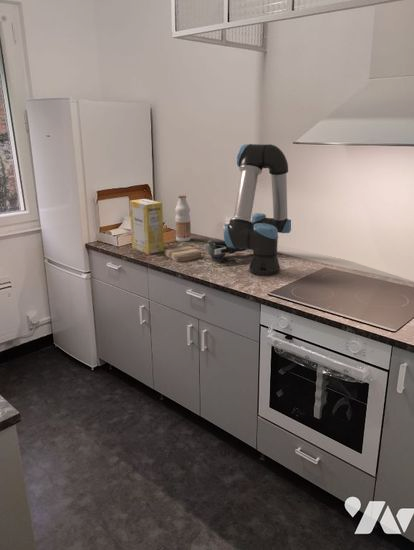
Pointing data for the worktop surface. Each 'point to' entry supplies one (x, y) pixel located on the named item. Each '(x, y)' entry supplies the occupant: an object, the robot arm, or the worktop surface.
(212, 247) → the mortar and pestle
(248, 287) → the worktop surface
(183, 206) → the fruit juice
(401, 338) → the worktop surface
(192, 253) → the block
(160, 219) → the pasta box
